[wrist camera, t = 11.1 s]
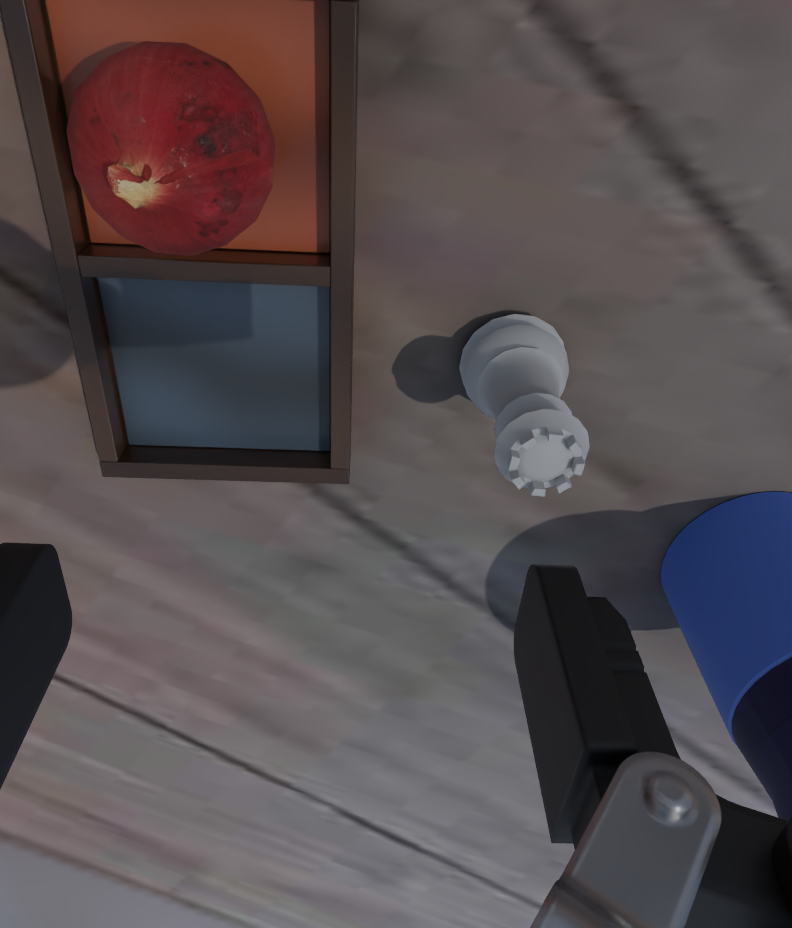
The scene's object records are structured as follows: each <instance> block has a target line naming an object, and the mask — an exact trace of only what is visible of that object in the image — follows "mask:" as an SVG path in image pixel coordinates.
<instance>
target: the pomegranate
mask: <svg viewBox="0 0 792 928" xmlns="http://www.w3.org/2000/svg"><path fill="white" fill-rule="evenodd" d="M66 132H67V138H68V143H69V149H70V154H71V160H72V165H73V171H74V175H75V177H76V179H77V181H78V183H79V185H80V187H81V188H82V190H83V192H84V194H85V196H86V198H87V200H88V201H89V203H90V205H91V207H92V209H93V210H94V211H95V212H96V213H97V214H98V215H99V216H100V217H101V218H102V219H104V220H105V221H106V222H107V223H108V224H109V225H110V226H111V227H112V228H113V229H114V230H115V231H116V232H117V233H118V234H119V235H120V236H122V237H124V238H126V239H128V240H130V241H132V242H134V243H136V244H138V245H140V246H142V247H144V248H146V249H149V250H151V251H153V252H155V253H163V254H174V255H185V256H191V255H196V254H200V253H203V252H206V251H209V250H212V249H216V248H219V247H222V246H225V245H227V244H228V243H229V242H230V241H232V240H233V239H234V238H235V237H237V236H238V235H239V234H240V233H242V232H243V231H244V230H245V229H247V228H248V227H249V226H250V225H252V224H253V223H254V222H255V221H256V220H257V218H258V216H259V214H260V212H261V210H262V208H263V206H264V204H265V202H266V200H267V198H268V196H269V194H270V192H271V190H272V187H273V171H274V155H275V139H274V136H273V133H272V130H271V128H270V125H269V122H268V119H267V116H266V114H265V111H264V108H263V105H262V102H261V100H260V98H259V97H258V96H257V94H256V93H255V92H254V91H253V90H252V89H251V88H250V87H249V86H248V85H247V84H246V82H245V81H244V80H243V79H242V78H241V77H240V76H239V75H238V74H237V73H236V71H235V70H234V69H233V68H232V67H231V66H230V65H229V64H228V63H227V62H225V61H222V60H220V59H218V58H216V57H214V56H212V55H210V54H208V53H206V52H203V51H201V50H199V49H197V48H195V47H193V46H191V45H189V44H186V43H174V42H153V41H143V42H141V43H138V44H136V45H134V46H131V47H129V48H127V49H124V50H122V51H119V52H117V53H115V54H112V55H110V56H108V57H106V58H105V59H104V60H103V61H101V62H100V63H99V65H98V66H97V67H96V68H95V69H94V70H93V71H92V72H91V73H90V74H89V76H88V77H87V78H86V79H85V80H84V81H83V82H82V83H81V84H80V85H79V87H78V88H77V89H76V90H75V91H74V96H73V101H72V106H71V111H70V115H69V120H68V125H67V130H66Z"/></svg>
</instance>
